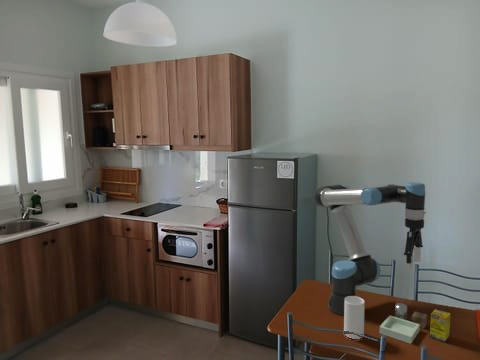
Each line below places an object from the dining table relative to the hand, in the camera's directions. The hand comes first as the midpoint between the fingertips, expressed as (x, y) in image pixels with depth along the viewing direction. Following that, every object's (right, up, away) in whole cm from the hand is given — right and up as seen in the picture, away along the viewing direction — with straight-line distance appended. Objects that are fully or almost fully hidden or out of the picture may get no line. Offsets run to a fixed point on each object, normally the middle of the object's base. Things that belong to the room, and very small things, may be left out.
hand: (413, 265), depth 157 cm
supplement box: (+9, -30, -5) cm, 31 cm away
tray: (-6, -29, 0) cm, 30 cm away
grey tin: (-1, -28, +11) cm, 30 cm away
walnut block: (+5, -29, +5) cm, 30 cm away
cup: (-27, -30, -2) cm, 40 cm away
